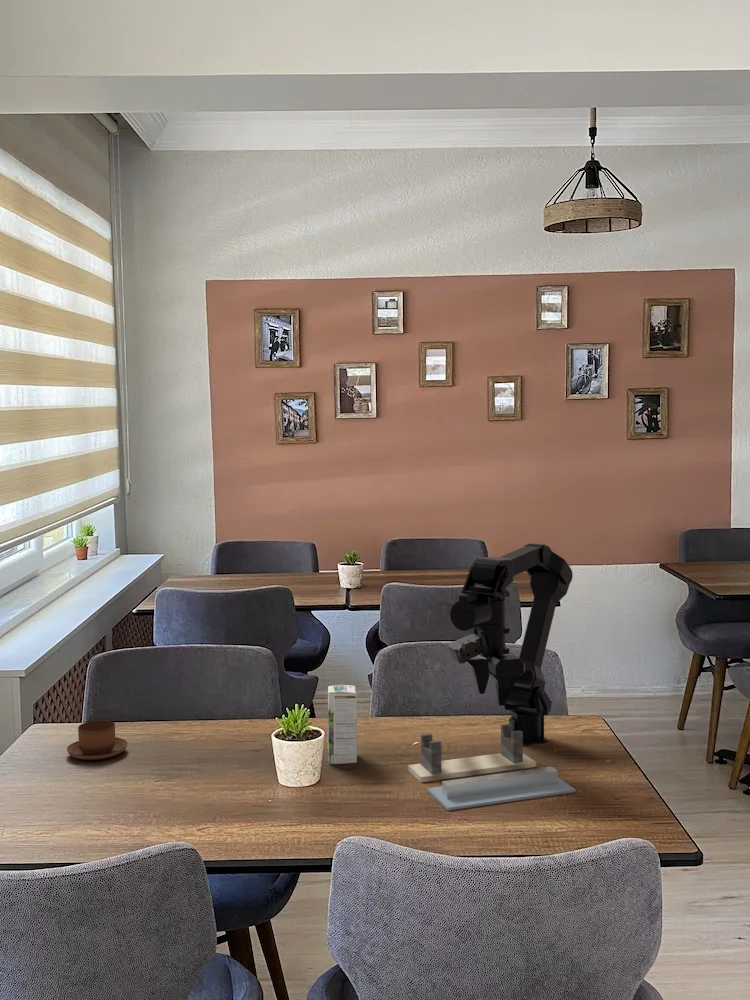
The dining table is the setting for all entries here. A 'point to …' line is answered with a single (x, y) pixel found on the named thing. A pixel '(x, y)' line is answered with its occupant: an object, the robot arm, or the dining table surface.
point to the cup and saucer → (96, 741)
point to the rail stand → (471, 759)
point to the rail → (499, 782)
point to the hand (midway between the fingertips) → (491, 699)
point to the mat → (500, 795)
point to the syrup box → (342, 724)
